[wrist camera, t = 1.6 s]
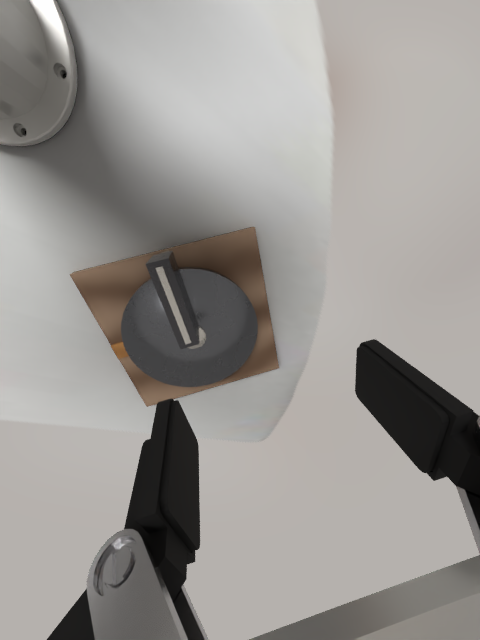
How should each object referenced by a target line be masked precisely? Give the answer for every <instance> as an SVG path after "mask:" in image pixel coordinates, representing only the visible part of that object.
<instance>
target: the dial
mask: <svg viewBox="0 0 480 640" xmlns="http://www.w3.org/2000/svg"><path fill="white" fill-rule="evenodd" d="M145 265H146V267H147V269H148V272H149V274H150V277H151V278H150V279H149V280H147V281H146V282H145V283H143V284H142V285H141V286H140V287H139V288H138V289H137V291H136V292H135V293H134V294H133V296H132V297H131V298H130V300H129V302H128V304H127V305H126V308H125V310H124V313H123V316H122V321H121V336H122V341H123V344H124V347H125V350H126V352H127V354H128V355H129V357H130V359H131V360H132V361H133V362H134V364H135V365H136V366H137V367H138V368H139V369H140V370H141V371H143V372H144V373H145V374H147V375H148V376H150V377H152V378H153V379H155V380H157V381H160V382H162V383H165V384H169V385H173V386H179V387H199V386H205V385H209V384H213V383H216V382H218V381H221V380H223V379H225V378H227V377H228V376H230V375H232V374H233V373H234V372H235V371H237V370H238V369H239V368H240V367H241V366H242V365H243V364H244V363H245V362H246V360H247V359H248V358H249V356H250V354H251V353H252V351H253V348H254V346H255V343H256V339H257V333H258V323H257V317H256V313H255V310H254V308H253V306H252V303H251V302H250V300H249V298H248V297H247V295H246V294H245V292H244V291H243V290H242V289H241V288H240V287H239V286H238V285H237V284H236V283H235V282H234V281H232V280H231V279H229V278H228V277H226V276H224V275H222V274H220V273H218V272H215V271H212V270H209V269H205V268H199V267H180V268H178V265H177V262H176V259H175V256H174V253H173V250H172V251H168V252H164V253H160V254H156V255H153V256H152V257H151V258H150V259H149V260H148V262H147V263H146V264H145Z"/></svg>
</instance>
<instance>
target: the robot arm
mask: <svg viewBox="0 0 480 640" xmlns="http://www.w3.org/2000/svg"><path fill="white" fill-rule="evenodd" d="M64 73H67V76H66V78H64V79H63V74H64ZM76 92H77V64H76V58H75V52H74V46H73V43H72V40H71V36H70V33H69V30H68V27H67V24H66V21H65V19H64V17H63V15H62V12H61V10H60V8H59V6H58V4H57V1H56V0H0V144H2V145H7V146H28V145H34V144H38V143H41V142H43V141H45V140H48V139H50V138H51V137H52V136H54V135H55V134H56V133H57V132H58V131H60V130H61V128H62V127H63V126H64V124H65V123H66V122H67V120H68V119H69V117H70V114H71V112H72V109H73V107H74V104H75V98H76ZM24 130H26V132H27V133H26V135H25V134H24ZM356 361H357V362H356V385H355V391H356V395H357V397H358V398H359V400H360V401H361V402H362V403H363V404H364V406H365V407H366V408H367V409H368V410H369V411H370V412H371V414H372V415H373V416H374V417H375V418H376V420H377V421H378V422H379V423H380V424H381V425H382V427H383V428H384V429H385V430H386V431H387V432H388V434H389V435H390V436H391V437H392V438H393V439H394V440H395V442H396V443H397V444H398V445H399V446H400V448H401V449H402V450H403V451H404V452H405V453H406V454H407V456H408V457H409V458H410V459H411V460H412V462H413V463H414V464H415V465H416V466H417V467H418V469H419V470H421V471H422V472H424V473H427V474H428V475H429V476H430V477H431V478H432V479H433V480H434V481H435V480H438V479H441V478H444V477H446V476H447V477H448V478H449V479H450V480H451V481H452V482H453V483H454V484H455V485H456V487H457V490H458V493H459V495H460V498H461V501H462V504H463V507H464V510H465V513H466V516H467V519H468V521H469V524H470V527H471V530H472V533H473V536H474V539H475V541H476V544H477V547H478V550H479V553H480V416H478V415H477V414H476V413H474V412H473V410H472V409H470V408H469V407H468V406H466V405H465V404H464V403H462V402H460V401H459V400H458V399H457V398H455V397H454V396H453V395H451V394H450V393H448V392H447V391H446V390H444V389H443V388H442V387H440V386H439V385H437V384H436V383H435V382H433V381H432V380H430V379H429V378H428V377H427V376H425V375H424V374H422V373H421V372H420V371H418V370H417V369H416V368H414V367H413V366H411V365H410V364H408V363H407V362H406V361H405V360H403V359H402V358H400V357H399V356H398V355H396V354H395V353H393V352H392V351H391V350H389V349H388V348H387V347H385V346H384V345H383V344H381V343H380V342H379V341H377V340H370V341H366V342H363V343H361V344H360V346H359V347H358V348H357V360H356ZM199 547H200V512H199V453H198V442H197V439H196V437H195V435H194V433H193V430H192V428H191V426H190V424H189V422H188V420H187V418H186V416H185V414H184V412H183V410H182V407H181V405H180V403H179V401H178V400H176V401H174V400H173V399H172V398H171V399H167V400H164V401H160V402H158V403H157V407H156V413H155V418H154V423H153V428H152V434H151V439H149V440H146V441H145V442H144V443H143V446H142V450H141V454H140V459H139V464H138V469H137V473H136V478H135V482H134V486H133V491H132V496H131V500H130V505H129V509H128V514H127V519H126V524H125V528H124V530H122V531H119V532H117V533H116V534H114V535H113V536H112V537H111V538H109V539H108V540H107V542H106V543H105V544H104V545H103V546H102V547H101V549H100V550H99V552H98V553H97V555H96V557H95V558H94V561H93V563H92V565H91V568H90V570H89V575H88V579H87V589H86V590H85V592H84V593H83V594H82V595H81V597H80V598H79V599H78V601H77V602H76V603H75V604H74V606H73V607H72V608H71V609H70V611H69V612H68V613H67V614H66V616H65V617H64V618H63V620H62V621H61V622H60V623H59V625H58V626H57V627H56V628H55V630H54V631H53V632H52V634H51V635H50V636H49V638H48V639H47V640H208V638H207V635H206V633H205V631H204V629H203V627H202V624H201V622H200V620H199V618H198V616H197V613H196V611H195V609H194V607H193V605H192V603H191V600H190V598H189V596H188V594H187V592H186V590H185V587H184V585H183V584H184V582H185V580H186V572H187V568H186V567H187V564H190V563H193V562H195V550H198V549H199ZM250 640H480V555H479V556H476V557H473V558H470V559H468V560H465V561H462V562H459V563H456V564H454V565H451V566H448V567H445V568H443V569H440V570H437V571H435V572H431V573H429V574H426V575H424V576H420V577H418V578H415V579H412V580H410V581H407V582H404V583H401V584H399V585H396V586H393V587H390V588H388V589H385V590H382V591H379V592H377V593H374V594H371V595H369V596H366V597H363V598H360V599H358V600H355V601H352V602H349V603H347V604H344V605H341V606H338V607H336V608H333V609H330V610H328V611H325V612H322V613H319V614H317V615H314V616H311V617H309V618H306V619H303V620H301V621H298V622H296V623H293V624H290V625H287V626H284V627H282V628H279V629H276V630H274V631H271V632H268V633H266V634H263V635H260V636H258V637H255V638H252V639H250Z"/></svg>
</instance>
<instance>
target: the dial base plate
mask: <svg viewBox="0 0 480 640" xmlns="http://www.w3.org/2000/svg"><path fill="white" fill-rule="evenodd" d="M172 250H173V253H174V256H175V259H176V262H177V265H178V268H180V267H199V268H205V269H209V270H212V271H215V272H218V273H220V274H222V275H224V276H226V277H228V278H229V279H231V280H232V281H234V282H235V283H236V284H237V285H238V286H239V287H240V288H241V289H242V290H243V291H244V292H245V294H246V295H247V297H248V298H249V300H250V302H251V303H252V306H253V308H254V310H255V313H256V317H257V323H258V333H257V339H256V343H255V346H254V348H253V351H252V353H251V354H250V356H249V358H248V359H247V360H246V362H245V363H244V364H243V365H242V366H241V367H240V368H239V369H238V370H237V371H235V372H234V373H233V374H232V375H230V376H228V377H227V378H225V379H223V380H221V381H218V382H216V383H213V384H209V385H205V386H199V387H179V386H173V385H169V384H165V383H162V382H160V381H157V380H155V379H153V378H152V377H150V376H148V375H147V374H145V373H144V372H143V371H141V370H140V369H139V368H138V367H137V366H136V365H135V364H134V362H133V361H132V360H131V359H130V357H129V355H128V354H127V352H126V350H125V347H124V344H123V341H122V336H121V321H122V316H123V313H124V310H125V308H126V305H127V304H128V302H129V300H130V298H131V297H132V296H133V294H134V293H135V292H136V291H137V289H138V288H139V287H140V286H141V285H142V284H143V283H145V282H146V281H147V280H149V279H150V278H151V277H150V274H149V272H148V269H147V267H146V265H145V264H146V263H147V262H148V260H149V259H150V258H151V257H152V256H153V255H156V254H160V253H164V252H168V251H172ZM70 276H71V278H72V279H73V281H74V283H75V284H76V286H77V288H78V290H79V291H80V293H81V295H82V296H83V298H84V300H85V302H86V303H87V305H88V307H89V308H90V310H91V312H92V314H93V315H94V317H95V319H96V320H97V322H98V324H99V326H100V327H101V329H102V331H103V332H104V334H105V336H106V338H107V339H108V341H109V343H110V344H111V347H112V349H113V351H114V352H115V354H116V356H117V357H118V359H119V360H120V362H121V363H122V365H123V367H124V368H125V370H126V372H127V374H128V375H129V377H130V379H131V380H132V382H133V384H134V386H135V387H136V389H137V391H138V392H139V394H140V396H141V398H142V399H143V401H144V403H145V404H146V406H147V407H148V406H151V405H155V404H157V403H158V402H160V401H164V400H167V399H171V398H172V399H175V398H178V397H182V396H185V395H189V394H192V393H195V392H199V391H202V390H206V389H209V388H212V387H216V386H219V385H223V384H226V383H230V382H233V381H236V380H240V379H243V378H247V377H250V376H253V375H257V374H260V373H264V372H267V371H270V370H274V369H277V368H279V365H278V359H277V353H276V348H275V342H274V336H273V330H272V324H271V318H270V313H269V307H268V301H267V295H266V289H265V283H264V278H263V272H262V266H261V260H260V254H259V248H258V243H257V237H256V231H255V227H250V228H246V229H242V230H238V231H234V232H230V233H227V234H223V235H219V236H215V237H211V238H207V239H203V240H199V241H195V242H191V243H187V244H183V245H179V246H175V247H171V248H167V249H163V250H159V251H155V252H151V253H148V254H144V255H140V256H136V257H132V258H128V259H124V260H120V261H116V262H112V263H108V264H104V265H100V266H96V267H92V268H88V269H84V270H80V271H76V272H73V273H72V274H70Z"/></svg>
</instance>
